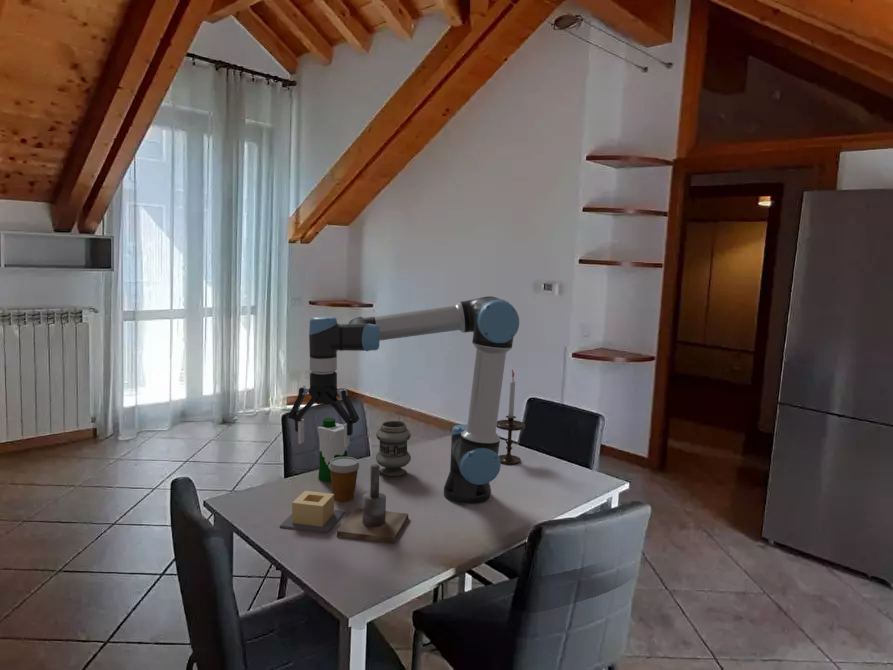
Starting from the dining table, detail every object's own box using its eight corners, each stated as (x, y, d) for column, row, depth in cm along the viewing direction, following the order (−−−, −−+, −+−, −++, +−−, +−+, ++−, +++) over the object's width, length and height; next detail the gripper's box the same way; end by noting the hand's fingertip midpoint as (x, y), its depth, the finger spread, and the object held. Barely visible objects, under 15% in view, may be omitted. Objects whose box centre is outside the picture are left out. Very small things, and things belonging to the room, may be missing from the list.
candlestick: (491, 456, 243) (496, 366, 238) (519, 456, 245) (524, 366, 240) (496, 465, 233) (501, 372, 228) (525, 465, 234) (531, 372, 229)
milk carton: (332, 471, 220) (332, 415, 218) (352, 477, 216) (353, 420, 213) (314, 479, 213) (314, 421, 210) (334, 485, 208) (335, 426, 206)
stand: (408, 518, 185) (410, 459, 183) (393, 543, 170) (395, 478, 167) (355, 512, 188) (356, 453, 186) (336, 536, 173) (337, 472, 170)
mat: (344, 512, 188) (345, 511, 188) (327, 533, 174) (327, 531, 174) (300, 507, 190) (300, 505, 190) (279, 527, 177) (279, 525, 177)
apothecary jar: (368, 472, 221) (369, 422, 219) (395, 465, 229) (397, 416, 227) (389, 482, 213) (390, 430, 210) (417, 474, 221) (418, 424, 218)
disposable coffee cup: (352, 506, 193) (353, 468, 191) (323, 502, 195) (323, 464, 193) (363, 494, 202) (363, 458, 200) (334, 490, 204) (335, 454, 202)
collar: (333, 513, 186) (334, 493, 185) (322, 526, 177) (322, 506, 176) (304, 510, 187) (305, 490, 186) (292, 522, 178) (292, 502, 178)
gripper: (370, 371, 180) (369, 443, 183) (286, 366, 184) (288, 437, 188) (362, 376, 173) (362, 451, 176) (275, 371, 177) (277, 445, 180)
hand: (323, 444), depth 182 cm, fingers open, 13 cm apart
